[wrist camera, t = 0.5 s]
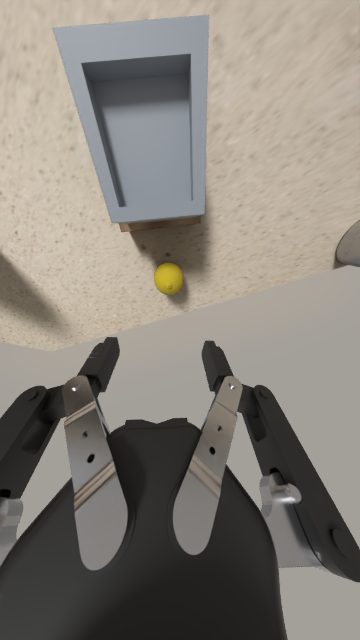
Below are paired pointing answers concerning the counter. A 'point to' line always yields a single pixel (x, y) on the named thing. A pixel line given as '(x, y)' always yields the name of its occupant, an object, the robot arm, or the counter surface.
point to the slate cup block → (143, 112)
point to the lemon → (168, 278)
